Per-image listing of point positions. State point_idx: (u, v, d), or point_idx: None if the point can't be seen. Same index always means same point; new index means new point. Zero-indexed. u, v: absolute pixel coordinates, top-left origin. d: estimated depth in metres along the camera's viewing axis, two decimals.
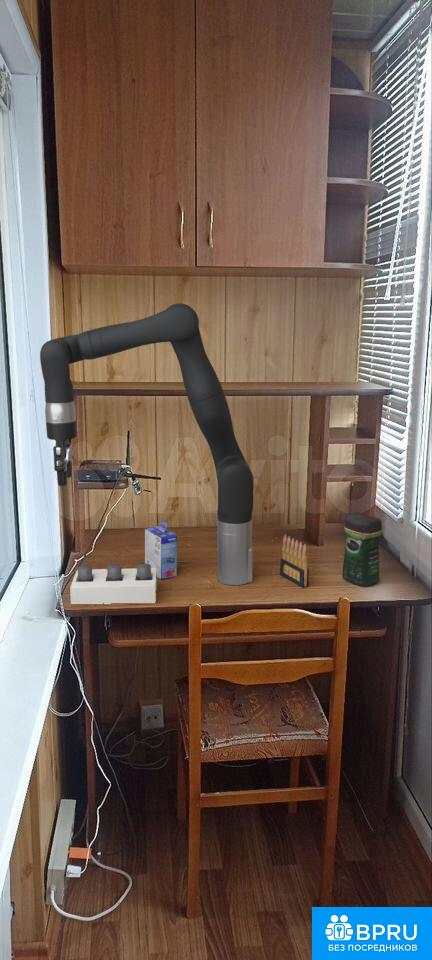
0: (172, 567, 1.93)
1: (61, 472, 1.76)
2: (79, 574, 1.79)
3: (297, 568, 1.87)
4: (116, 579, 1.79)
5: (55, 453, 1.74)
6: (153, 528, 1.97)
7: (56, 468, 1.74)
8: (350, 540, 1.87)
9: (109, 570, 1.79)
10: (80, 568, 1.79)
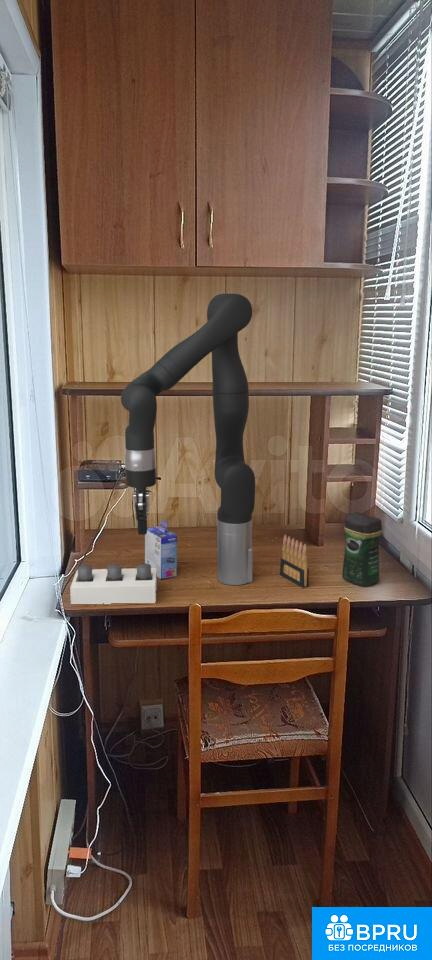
0: (172, 567, 1.93)
1: (142, 521, 1.75)
2: (79, 574, 1.79)
3: (297, 568, 1.87)
4: (116, 579, 1.79)
5: (137, 509, 1.71)
6: (153, 528, 1.97)
7: (138, 519, 1.73)
8: (350, 540, 1.87)
9: (109, 570, 1.79)
10: (80, 568, 1.79)
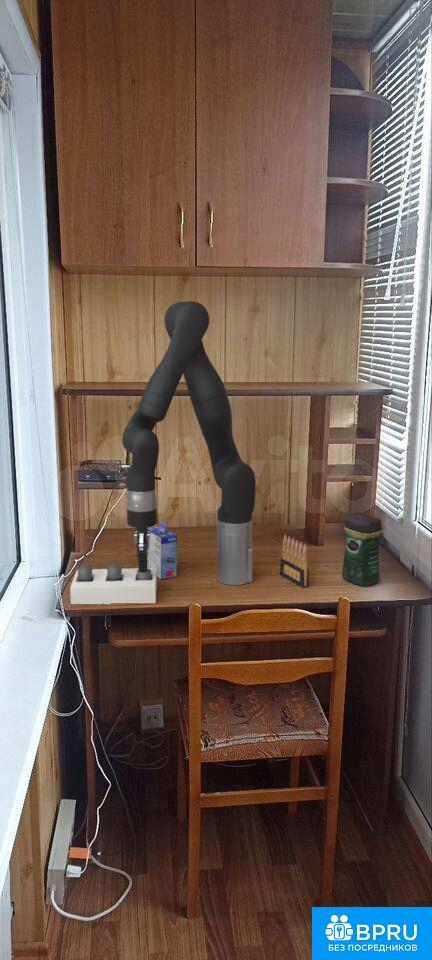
0: (172, 567, 1.93)
1: (143, 559, 1.78)
2: (79, 574, 1.79)
3: (297, 568, 1.87)
4: (116, 579, 1.79)
5: (138, 549, 1.74)
6: (153, 528, 1.97)
7: (139, 557, 1.77)
8: (350, 540, 1.87)
9: (109, 570, 1.79)
10: (80, 568, 1.79)
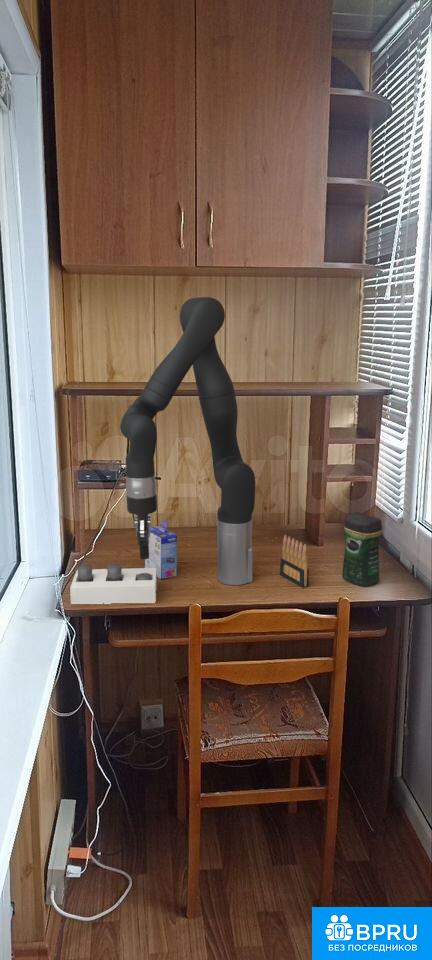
0: (172, 567, 1.93)
1: (144, 546, 1.77)
2: (79, 574, 1.79)
3: (297, 568, 1.87)
4: (116, 579, 1.79)
5: (139, 536, 1.73)
6: (153, 528, 1.97)
7: (140, 544, 1.76)
8: (350, 540, 1.87)
9: (109, 570, 1.79)
10: (80, 568, 1.79)
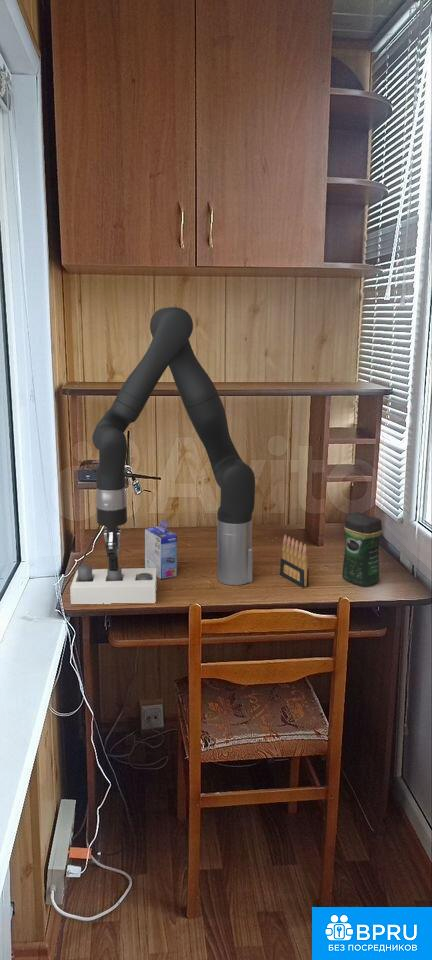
0: (172, 567, 1.93)
1: (113, 558, 1.78)
2: (79, 574, 1.79)
3: (297, 568, 1.87)
4: None
5: (107, 548, 1.73)
6: (153, 528, 1.97)
7: (109, 556, 1.76)
8: (350, 540, 1.87)
9: (109, 573, 1.79)
10: (80, 568, 1.79)
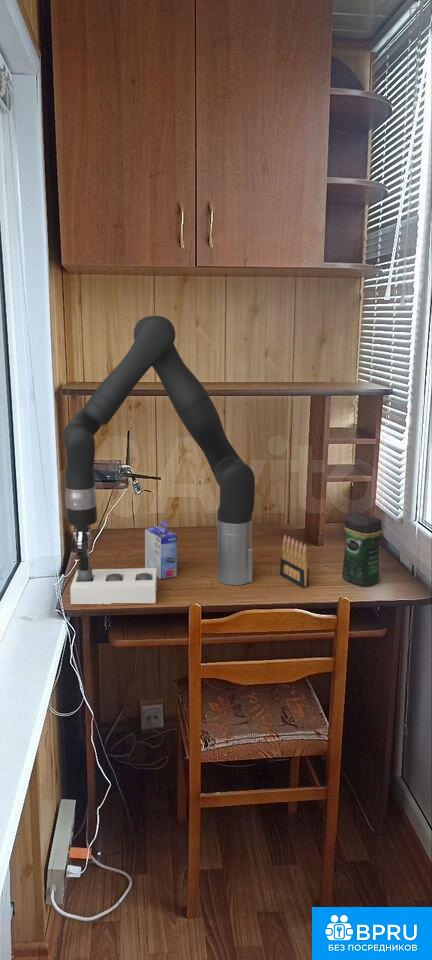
0: (172, 567, 1.93)
1: (83, 557, 1.77)
2: (79, 576, 1.79)
3: (297, 568, 1.87)
4: None
5: (77, 548, 1.73)
6: (153, 528, 1.97)
7: (79, 556, 1.76)
8: (350, 540, 1.87)
9: (109, 580, 1.79)
10: (80, 570, 1.79)
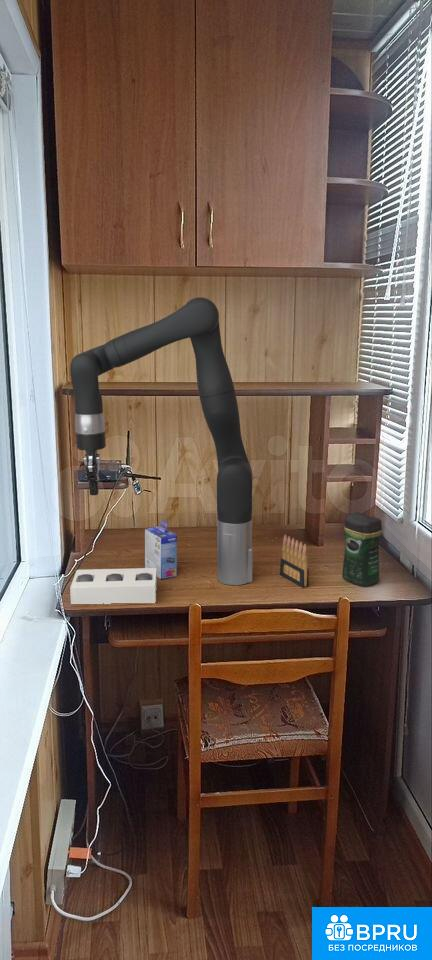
0: (172, 567, 1.93)
1: (93, 482, 1.85)
2: None
3: (297, 568, 1.87)
4: None
5: (87, 471, 1.80)
6: (153, 528, 1.97)
7: (89, 480, 1.83)
8: (350, 540, 1.87)
9: (109, 580, 1.79)
10: (81, 578, 1.80)
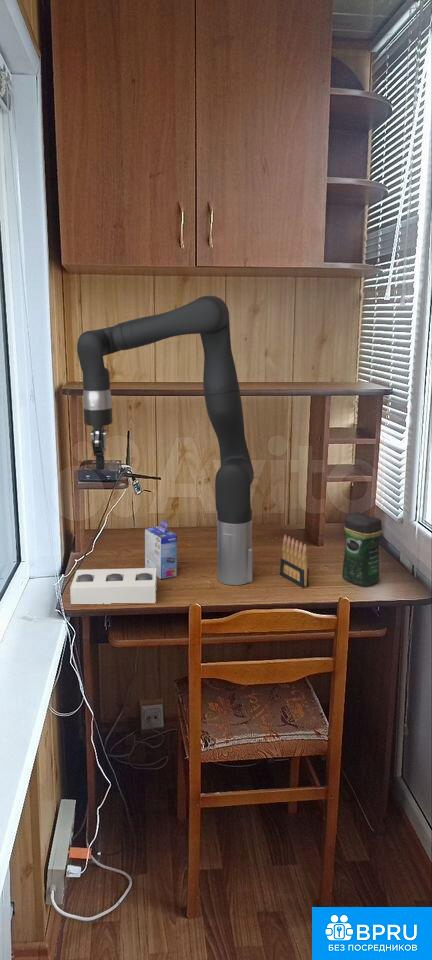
0: (172, 567, 1.93)
1: (100, 457, 1.90)
2: None
3: (297, 568, 1.87)
4: None
5: (94, 445, 1.86)
6: (153, 528, 1.97)
7: (95, 455, 1.89)
8: (350, 540, 1.87)
9: (109, 580, 1.79)
10: (81, 578, 1.80)
